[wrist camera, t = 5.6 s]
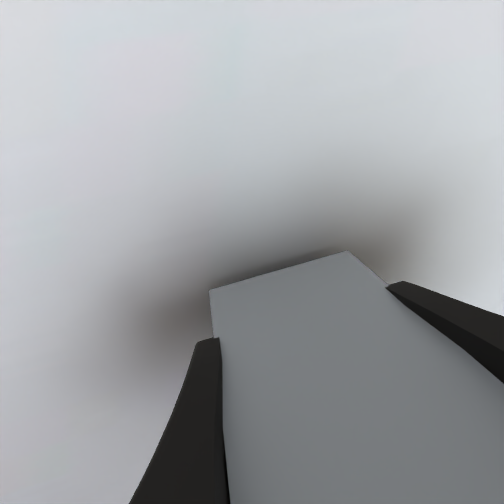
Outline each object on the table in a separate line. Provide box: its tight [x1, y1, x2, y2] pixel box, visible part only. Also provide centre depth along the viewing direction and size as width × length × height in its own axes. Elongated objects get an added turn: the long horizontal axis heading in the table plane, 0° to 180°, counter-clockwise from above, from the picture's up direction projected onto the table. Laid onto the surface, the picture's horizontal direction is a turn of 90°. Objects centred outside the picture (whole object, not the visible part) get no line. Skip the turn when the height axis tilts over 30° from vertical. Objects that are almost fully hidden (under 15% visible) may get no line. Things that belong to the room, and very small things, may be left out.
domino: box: [209, 250, 504, 504], centre depth 7 cm, size 2×5×9 cm, turn 103°
